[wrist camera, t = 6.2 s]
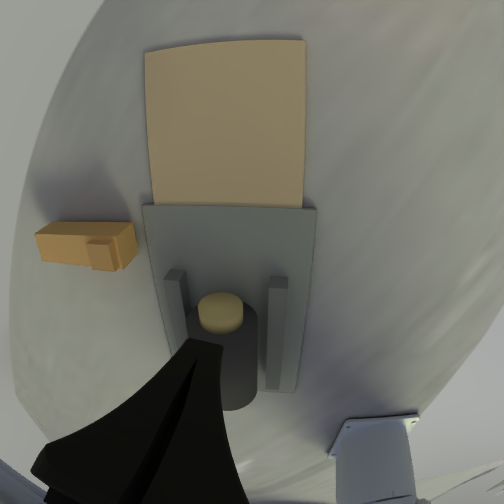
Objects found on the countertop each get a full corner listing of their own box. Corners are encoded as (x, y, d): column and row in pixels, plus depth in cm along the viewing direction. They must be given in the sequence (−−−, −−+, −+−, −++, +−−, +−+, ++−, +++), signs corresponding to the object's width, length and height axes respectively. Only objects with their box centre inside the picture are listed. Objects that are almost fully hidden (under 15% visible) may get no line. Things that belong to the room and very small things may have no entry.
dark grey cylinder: (260, 369, 21) (253, 413, 17) (207, 363, 21) (193, 405, 18) (261, 286, 17) (252, 334, 14) (195, 282, 18) (172, 325, 14)
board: (294, 389, 22) (293, 405, 21) (180, 376, 23) (175, 391, 22) (320, 42, 11) (324, 35, 10) (134, 56, 12) (119, 53, 11)
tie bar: (138, 252, 17) (118, 275, 15) (59, 247, 18) (37, 265, 16) (133, 222, 16) (110, 241, 14) (52, 221, 17) (28, 237, 15)
